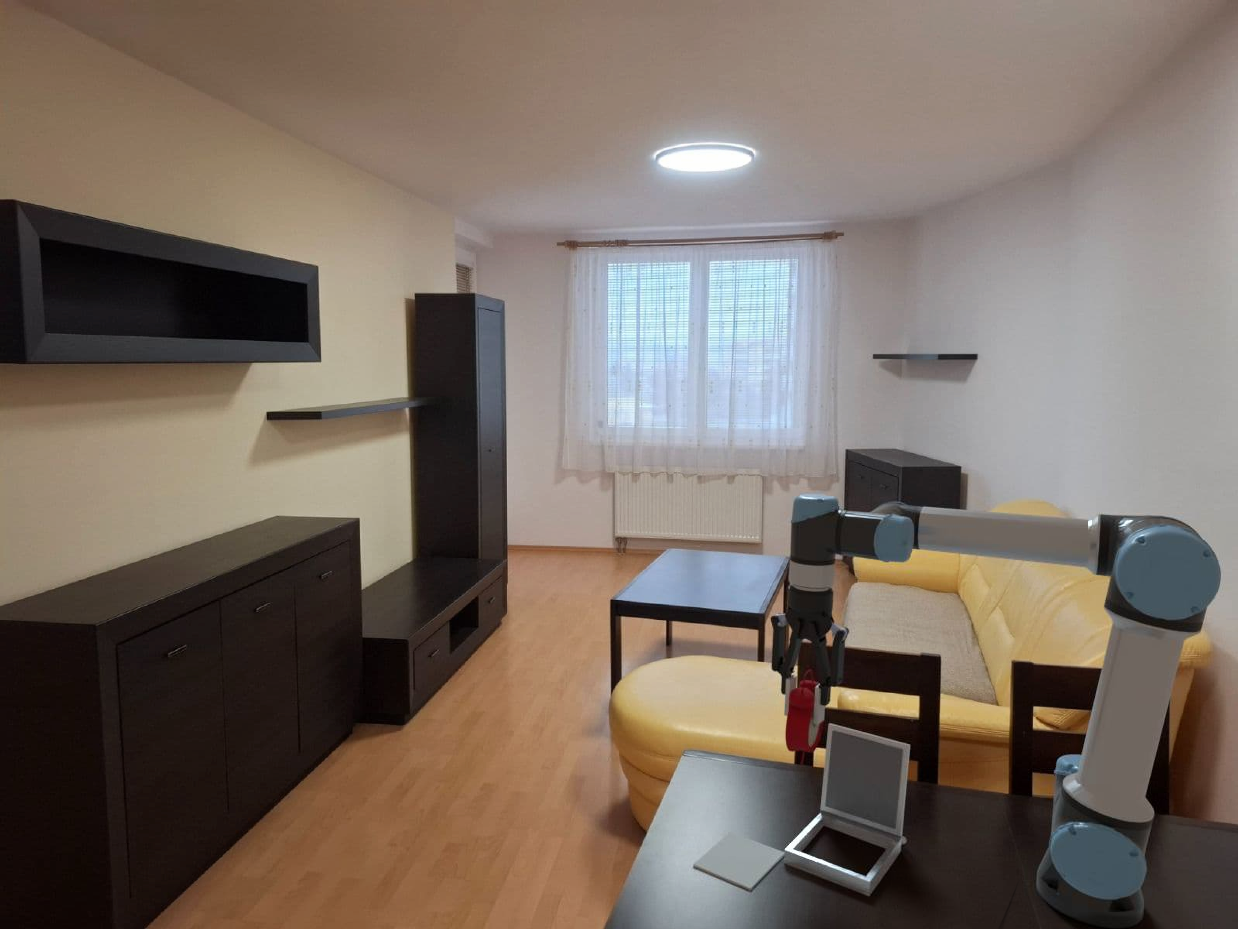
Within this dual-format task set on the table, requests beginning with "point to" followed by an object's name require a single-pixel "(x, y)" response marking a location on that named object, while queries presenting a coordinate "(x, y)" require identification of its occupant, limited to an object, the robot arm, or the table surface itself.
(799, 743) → the alarm clock
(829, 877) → the case
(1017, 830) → the table surface
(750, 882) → the mat
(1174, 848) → the table surface
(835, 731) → the lid
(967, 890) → the table surface
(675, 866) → the table surface
